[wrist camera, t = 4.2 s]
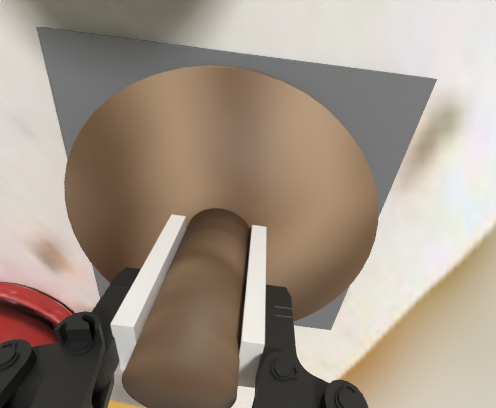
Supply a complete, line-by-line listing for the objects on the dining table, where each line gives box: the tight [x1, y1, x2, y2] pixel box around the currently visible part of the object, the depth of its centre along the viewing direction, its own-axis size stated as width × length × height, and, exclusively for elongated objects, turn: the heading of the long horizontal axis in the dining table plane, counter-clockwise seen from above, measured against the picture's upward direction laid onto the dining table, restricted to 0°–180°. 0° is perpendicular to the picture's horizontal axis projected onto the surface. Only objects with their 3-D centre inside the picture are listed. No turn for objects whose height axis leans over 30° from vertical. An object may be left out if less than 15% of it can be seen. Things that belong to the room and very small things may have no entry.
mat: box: [37, 27, 437, 330], centre depth 17 cm, size 18×18×1 cm
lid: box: [64, 65, 378, 408], centre depth 13 cm, size 17×17×9 cm
